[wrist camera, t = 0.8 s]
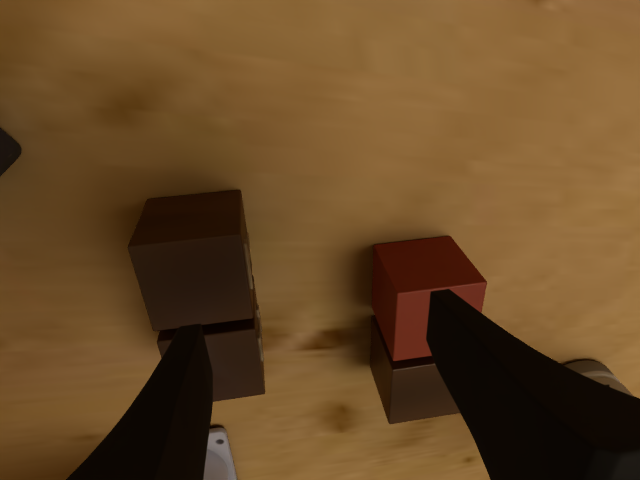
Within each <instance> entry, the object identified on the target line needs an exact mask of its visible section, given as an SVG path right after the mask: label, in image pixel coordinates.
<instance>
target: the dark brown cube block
mask: <svg viewBox="0 0 640 480" xmlns="http://www.w3.org/2000/svg"><path fill="white" fill-rule="evenodd" d="M252 281H253V312H254V316H253V318H251V319H244V320H236V321H228V322H221V323H213V324H205V325H201V326H202V330H203V334H204V338H205V342H206V346H207V350H208V354H209V358H210V362H211V366H212V370H213V402H214V401H221V400H228V399H235V398H241V397H248V396H255V395H261V394H265V381H264V364H263V361H264V358H263V348H262V333H261V332H262V326H261V319H260V312H259V305H257V298H256V291H255V284H254V277H253V275H252ZM177 330H178V328H175V329H167V330H160V331H159V335H158V340H157V345H158V348H159V351H160V354H161V358H162V357H163V355H164V353H165V352H166V350H167V348H168V346H169V345H170V343H171V341H172V339H173V337H174V335H175V333H176V331H177Z"/></svg>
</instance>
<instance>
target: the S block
mask: <svg viewBox="0 0 640 480" xmlns="http://www.w3.org/2000/svg"><path fill="white" fill-rule="evenodd" d="M486 285H487V281H486V280H485V279H484V278H483V276H482V275H481V274H480V273H479V271H478V270H477V269H476V268H475V266H474V265H473V264H472V263H471V261H470V260H469V259H468V258H467V256H466V255H465V254H464V253H463V251H462V250H461V249H460V248H459V246H458V245H457V244H456V243H455V241H454V240H453V239H452V238H451V236H446V237H437V238H428V239H420V240H411V241H403V242H394V243H385V244H377V245H374V246H373V280H372V309H373V311H374V314H375V317H376V319H377V322H378V324H379V327H380V329H381V332H382V334H383V337H384V339H385V342H386V344H387V347H388V349H389V352H390V355H391V357H392V360H393V361H398V360H405V359H412V358H419V357H426V356H432V355H431V352H430V349H429V346H428V343H427V341H426V334H427V324H428V313H429V303H430V293H431V291H437V290H445V289H450V290H451V291H453V292H454V293H455V294H457V295H458V296H459V297H461V298H462V299H463V300H465V301H466V302H467V303H468V304H470V305H471V306H472V307H474V308H475V309H476V310H478V311H479V312H480V313H481V311H482V306H483V301H484V295H485V290H486Z"/></svg>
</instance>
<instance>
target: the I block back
mask: <svg viewBox="0 0 640 480" xmlns="http://www.w3.org/2000/svg"><path fill="white" fill-rule="evenodd" d="M370 368H371V371H372V374H373V377H374V380H375V383H376V386H377V389H378V392H379V395H380V398H381V401H382V404H383V407H384V410H385V413H386V416H387V419H388V422H389V424H394V423H401V422H407V421H413V420H419V419H425V418H431V417H438V416H444V415H450V414H456V413H460V411H459V409H458V407H457V405H456V404H455V402H454V400H453V398H452V396H451V394H450V392H449V390H448V389H447V387H446V385H445V383H444V381H443V379H442V377H441V375H440V373H439V371H438V369H437V367H436V365H435V362H434V360H433V357H432V356H426V357H419V358H412V359H405V360H398V361H393V360H392V357H391V355H390V352H389V349H388V347H387V344H386V342H385V339H384V337H383V334H382V332H381V329H380V327H379V324H378V322H377V319H376V317H375V315H372V317H371V355H370Z"/></svg>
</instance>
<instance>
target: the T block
mask: <svg viewBox="0 0 640 480" xmlns="http://www.w3.org/2000/svg"><path fill="white" fill-rule="evenodd" d="M128 250H129V254H130V257H131V260H132V263H133V267H134V270H135V273H136V276H137V280H138V283H139V286H140V289H141V293H142V296H143V299H144V302H145V306H146V309H147V312H148V315H149V318H150V322H151V325H152V328H153V330H154V331H160V330H167V329H175V328H179V327H180V326H186V325H193V324H200V323H201V325H205V324H213V323H221V322H228V321H236V320H244V319H251V318H253V316H254V312H253V281H252V264H251V257H250V242H249V235H248V233H247V229H246V222H245V215H244V208H243V201H242V194H241V191H240V190H234V191H224V192H214V193H204V194H194V195H184V196H174V197H164V198H154V199H148V200H147V201H146V203H145V206H144V208H143V211H142V213H141V216H140V218H139V221H138V223H137V225H136V228H135V230H134V233H133V235H132V238H131V240H130V243H129V245H128Z"/></svg>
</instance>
